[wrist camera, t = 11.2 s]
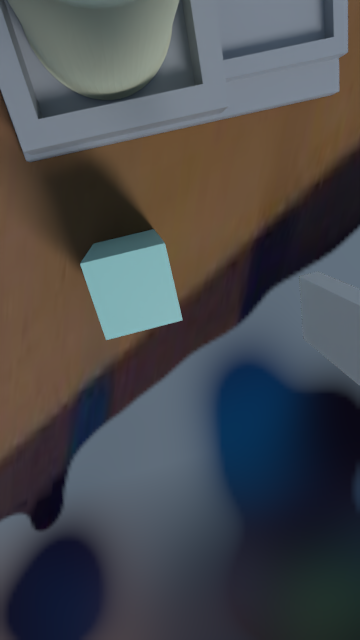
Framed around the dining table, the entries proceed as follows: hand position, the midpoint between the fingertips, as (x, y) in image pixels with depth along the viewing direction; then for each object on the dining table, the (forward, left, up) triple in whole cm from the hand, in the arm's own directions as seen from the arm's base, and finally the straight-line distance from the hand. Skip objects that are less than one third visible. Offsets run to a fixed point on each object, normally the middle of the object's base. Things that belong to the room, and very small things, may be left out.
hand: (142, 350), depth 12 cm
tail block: (0, 0, -16) cm, 16 cm away
